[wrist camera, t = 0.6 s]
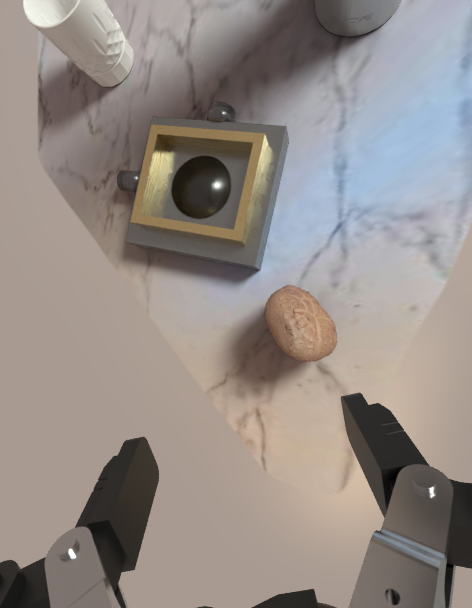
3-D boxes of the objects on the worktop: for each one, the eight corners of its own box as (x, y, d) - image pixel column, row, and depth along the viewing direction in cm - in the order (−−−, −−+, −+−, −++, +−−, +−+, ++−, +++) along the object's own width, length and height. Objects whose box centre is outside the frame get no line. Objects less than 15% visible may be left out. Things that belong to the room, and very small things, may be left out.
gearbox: (147, 113, 42) (124, 87, 37) (292, 124, 37) (288, 94, 32) (119, 243, 42) (93, 233, 37) (260, 270, 37) (250, 263, 32)
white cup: (117, 22, 44) (58, -62, 34) (149, 59, 42) (97, -18, 32) (77, 66, 45) (11, -2, 35) (107, 104, 43) (46, 42, 34)
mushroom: (270, 292, 37) (256, 285, 29) (325, 281, 35) (325, 270, 27) (282, 359, 36) (272, 370, 28) (339, 350, 34) (344, 359, 27)
